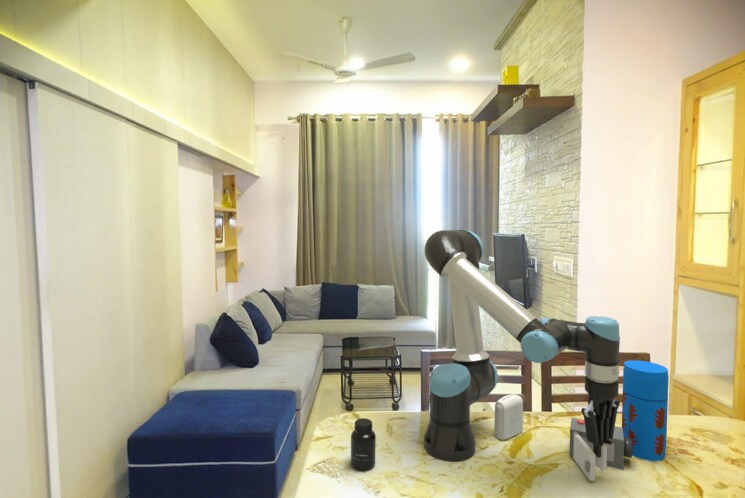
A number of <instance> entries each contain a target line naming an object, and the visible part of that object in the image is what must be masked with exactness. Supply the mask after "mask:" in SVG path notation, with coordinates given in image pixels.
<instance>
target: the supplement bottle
mask: <svg viewBox="0 0 745 498" xmlns="http://www.w3.org/2000/svg"><path fill="white" fill-rule="evenodd" d="M376 436H377V435H376V433H375V431H374V430H373V421H372V420H371V419H369V418H363V417H362V418H357V419H356V420H355V421H354V429H353V431H352V432H351V434H350V465H351V467H352V468H353V470H356V471H359V472H366V471H369V470H372V469H373V468H374V467H375V465H376V447H377V445H376V441H377V439H376Z"/></svg>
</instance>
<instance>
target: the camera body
mask: <svg viewBox="0 0 745 498" xmlns="http://www.w3.org/2000/svg"><path fill="white" fill-rule="evenodd" d="M573 432H578V434H579V435H580V437H581V438H582V439H583V440H584V441H585V443H586V444H587V445H588V446H589V447H590V449H591V450H592V451H593V443H591V442H589V441H588V440H587V434H586V428H585V421H584V419H582V418H576V417H571V420H570V426H569V458H573ZM609 441H611V442H612V444H611V445H609V444H607V467H610V468H614V469H618V470H622V471H623V470H624V457H626V458H629V459H632V458H633V455H632V438H627V437H624V435H623V428H622V426H621V427H619V426H616V425H615V428H614V434H613V438H612V439H609Z"/></svg>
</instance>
